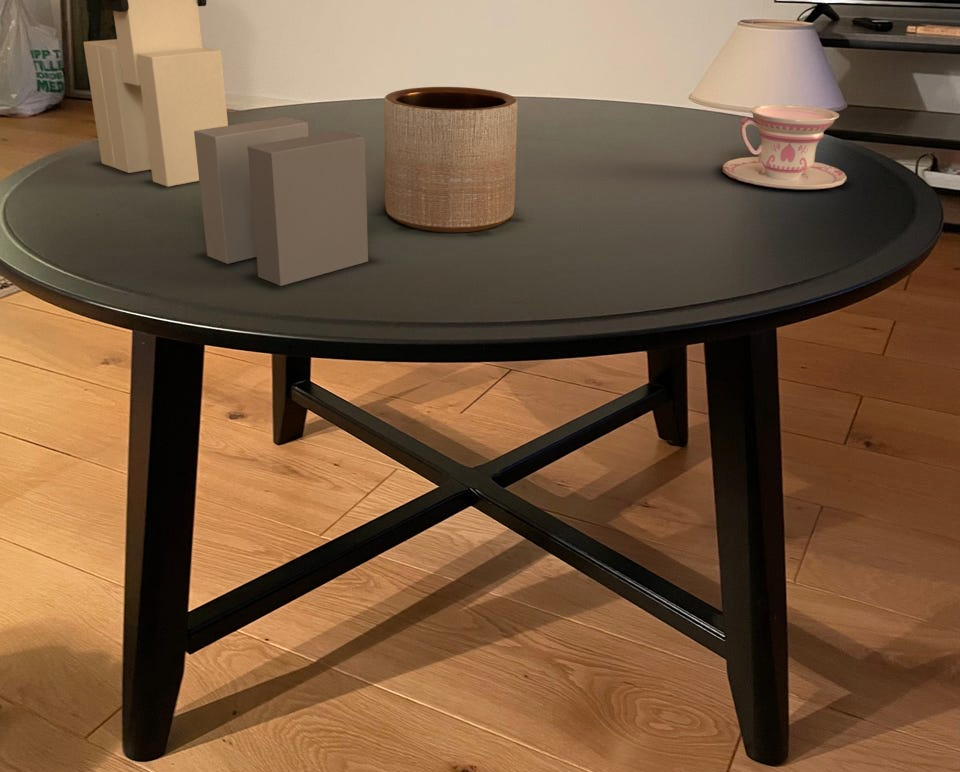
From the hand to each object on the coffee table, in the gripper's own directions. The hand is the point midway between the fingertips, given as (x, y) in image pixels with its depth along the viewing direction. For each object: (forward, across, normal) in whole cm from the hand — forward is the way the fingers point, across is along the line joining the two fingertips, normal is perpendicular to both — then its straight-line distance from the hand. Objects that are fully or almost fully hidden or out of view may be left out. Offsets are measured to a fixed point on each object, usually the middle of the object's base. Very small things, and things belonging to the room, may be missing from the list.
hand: (155, 5), depth 90 cm
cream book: (+6, 0, 0) cm, 6 cm away
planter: (+15, -9, +28) cm, 33 cm away
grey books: (+14, +8, +28) cm, 33 cm away
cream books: (+14, 0, -1) cm, 15 cm away
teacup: (+15, -44, +40) cm, 61 cm away
